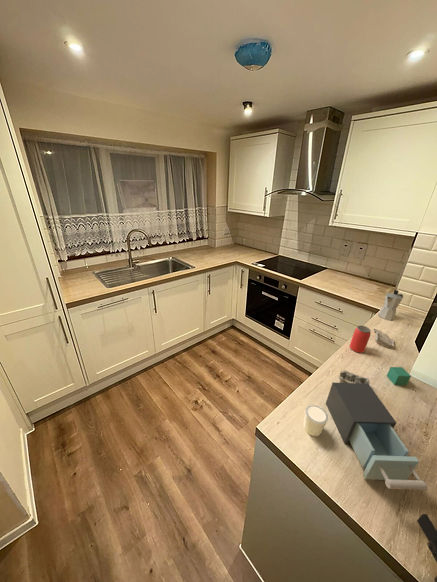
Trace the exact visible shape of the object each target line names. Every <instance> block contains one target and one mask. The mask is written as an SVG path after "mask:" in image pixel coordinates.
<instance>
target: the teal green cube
mask: <svg viewBox="0 0 437 582" xmlns="http://www.w3.org/2000/svg"><path fill="white" fill-rule="evenodd" d="M386 377H387V378H388V379H389V380H390V382H391V383H392V384H393V386H407V385H408V383H409V381H410V379H411V378H412V376H411V375H410V373H409V372H408V371H407V370H406V369H405V368H404V367H402V366H390V367H389V369H388V372H387V373H386Z"/></svg>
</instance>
